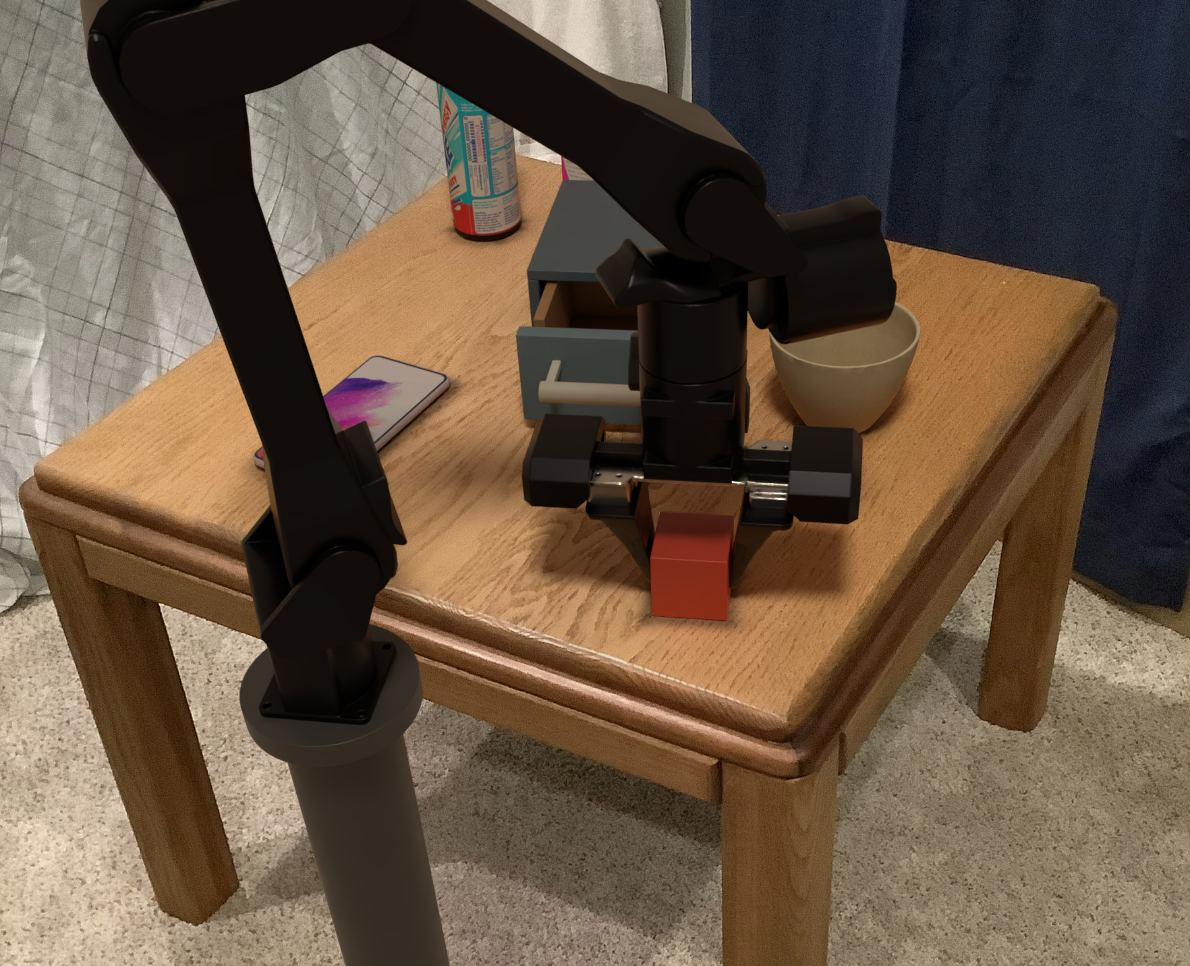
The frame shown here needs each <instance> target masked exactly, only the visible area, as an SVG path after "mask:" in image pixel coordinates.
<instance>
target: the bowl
mask: <svg viewBox="0 0 1190 966" xmlns="http://www.w3.org/2000/svg"><path fill="white" fill-rule="evenodd" d="M920 325H921V324H920V322H919V320H918V319H917V317H916V316H915V314H914V313H913V312H911V311H910V310H909V308H907V307H905V306H904V305H903V304H901V303H899V302H897V301H895V306H894V309H893V312H892V314H891V316H890V317H889V319H888V320H887V321H886V322H884V323H883V324H880V325H875V326H870V327H865V328H861V329H856V330H851V331H847V332H842V333H837V334H833V335H828V336H823V337H819V338H814V339H809V340H805V341H800V342H795V343H791V344H780V343H779V342H778V341H776V340H775V339H774V337H773V336H772V335H771V333H770V331H769V330H768V335H769V336H768V337H769V343H770V349H771V355H772V359H773V363H774V366H775V371H776V373H777V375H778V378H779V381H780V383H781V386H782V388H783V390H784V393H785V394H786V396H787V398H788V400H789V402H790V404H791V406H792V407H793V409H794V410H795V412H796V413H797V415H798V416H799V418H800V419H801V420H802V422H803V423H804V424H805V426H819V427H840V428H854V429H855V430H856V431H857V433H858V434H861V433H862V432H865V431H867V430H868V429H870V428H871V427H872V426H873V425H874V424H875V423H876V421H877V420H878V419H880V417H882V415H883V414H884V412H885V411H886V410H887V408H888V407H889V406H890V404H891V403H892V402H893V400H894V399H895V397H896V395H897V394H898V392H899V391H900V389H901V387H902V385H903V383H904V381H905V379H906V377H907V375H908V373H909V371H910V368H911V366H912V364H913V361H914V358H915V355H916V352H917V348H918V345H919V341H920V337H921V326H920Z"/></svg>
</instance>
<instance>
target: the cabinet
mask: <svg viewBox="0 0 1190 966" xmlns="http://www.w3.org/2000/svg"><path fill="white" fill-rule="evenodd" d="M627 238H630V239H632V240H633V241H634V242H635V243H636V244H637V245H638V246H640V247H642V248H655V247H660V246H663V245H662V244H661V243H660V242H659V241H658V240H657V239H656V238H654V237H653V236H652V235H651V234H650V233H649V232H648V231H647V230H645V229H644V228H643V227H642V226H641V225H640V224H639V223H638V222H636V221H635V220H634V219H633V218H632V217H631V216H630V215H629V214H628V213H627V212H626V211H625V210H624V209H623V208H622V207H621V206H620V205H619V204H618V203H617V202H616V201H615V200H614V199H613V198H612V197H611V196H610V195H609V194H608V193H607V192H605V191H604V190H603V189H602V188H601V187H600V186H599V185H598V184H597V183H596V182H595V181H592V180H562V179H561V183H560V186H559V188H558V190H557V193H556V196H555V198H554V200H553V203H552V206H551V208H550V209H549V213H548V215H547V218H546V221H545V223H544V226H543V229H542V231H541V233H540V235H539V239H538V241H537V243H536V245H535V248H534V251H533V253H532V256H531V259H530V261H529V264H528V267H527V268H526V277H527V278H526V279H527V290H528V300H529V311H530V312H529V313H530V322H531V323H530V324H531V327H534V322H533V319H534V316H535V313H536V311H537V308H538V305H539V303H540V300H541V297H542V295H543V292H544V289H545V286H546V284H547V281H548V280H549V281H580V282H599V280H598V279H597V277H596V275H595V271H596V268H597V267H598V266H599V265H601V264H602V263H603V262H604V261H605V260H606V259H607V258H608V257H609V256H611V255H612V254H614V253H615V252H616V251H617V250H618V249H619V248H620V247H621V245H622V243H623V241H624V240H625V239H627Z"/></svg>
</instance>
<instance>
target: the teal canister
mask: <svg viewBox="0 0 1190 966" xmlns="http://www.w3.org/2000/svg"><path fill="white" fill-rule="evenodd" d="M435 87H436V93H437V94H436V95H437V101H438V111H439V118H440V119H439V120H440V128H441V137H442V144H443V151H444V159H445V167H446V174H447V184H448V191H449V199H450V207H451V216H452V223H453V226H454V228H455V230H456V232H458V234H459V235H461V236H462V237H464V238H466V239H469V240H473V241H483V242H484V241H494V240H495V241H496V240H499V239H502V238H505V237H506V238H507V237H508V236H510V235H511V234H513V233H515V232H516V231H517V230H518V228H519V226H520V223H521V219H522V212H521V204H520V203H521V201H520V191H519V189H520V188H519V179H518V178H519V177H518V167H517V155H516V154H517V153H516V143H515V133H514V132H515V131H514V130H515V129H514V128H513V127H511V126H509V125H508V124H506V123H504V122H502V121H501V120H499V119H497V118H496V117H494V116H492V115H491V114H489V113H487V112H486V111H484V110H482V109H480V108H479V107H477V106H475V105H474V104H472V103H470V102H469V101H467V100H465V99H463V98H462V97H460V96H458V95H457V94H455V93H453V92H452V91H450V90H448V89H446V88H445V87H443V86H441V85H440V84H438V83H436V82H435Z"/></svg>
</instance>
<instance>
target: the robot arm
mask: <svg viewBox="0 0 1190 966" xmlns="http://www.w3.org/2000/svg"><path fill="white" fill-rule="evenodd" d="M79 7H80V13H81V22H82V28H83V35H84V36H83V37H84V44H85V51H86V58H87V62H88V69H89V75H90V77H91V80H92V82H93V85H94V86H95V88H96V90H97V92H98V94H99V96H100V98H101V99H102V101H103V102H104V104H105V106H106V108H107V109H108V111H109V112H110V114H111V116H112V117H113V119H114V121H115V122H116V124H117V126H118V128H119V129H120V131H121V133H122V134H123V136H124V138H125V139H126V142H127V143H128V144H129V146H130V148H131V149H132V151H133V153H134V154H135V156H136V157H137V159H138V160H139V162H140V163H141V164H142V166H143V168H144V169H145V170H146V171H147V173H148V174H149V175H150V177H151V178H152V179H153V181H154V182H155V184H157V186H158V188H159V189H160V190H161V192H162V193H163V194H164V196H165V197H166V199H167V201H168V202H169V204H170V205H171V207H172V209H173V211H174V212H175V215H176V218H177V221H178V223H179V226H180V228H181V231H182V234H183V237H184V239H185V241H186V244H187V247H188V250H189V253H190V255H191V258H192V261H193V263H194V266H195V269H196V271H197V274H198V278H199V280H200V282H201V285H202V287H203V290H204V292H205V295H206V298H207V300H208V303H209V306H210V308H211V312H212V314H213V317H214V320H215V322H216V324H217V328H218V330H219V332H220V335H221V338H222V341H223V344H224V346H225V349H226V352H227V355H228V357H229V360H230V362H231V365H232V367H233V370H234V372H235V375H236V378H237V381H238V384H239V385H240V389H241V392H242V394H243V397H244V399H245V402H246V404H247V408H248V410H249V413H250V416H251V418H252V421H253V423H254V426H255V429H256V432H257V434H258V437H259V439H260V443H261V446H262V449H263V460H264V467H265V468H264V473H265V480H266V486H267V487H266V488H267V492H268V500H269V506H268V507H267V508H266V510H265V511H264V512H263V513H262V514H261V515H260V517H259V518H258V519H257V521H256V522H255V523H254V524H253V526H252V527H251V528H250V529H249V531H248V532H247V533H246V535H245V536H244V537H243V538H242V540H241V542H240V546H241V551H242V554H243V559H244V565H245V569H246V574H247V578H248V582H249V588H250V592H251V597H252V602H253V607H254V612H255V617H256V621H257V627H258V631H259V635H260V640H262V642H263V643H264V644H265V645H266V649H268V652H269V656H270V660H271V663H272V667H273V670H274V674H273V676H272V679H271V681H270V683H269V685H268V687H267V689H266V692H265V694H264V696H263V698H262V700H261V702H260V704H259V711H260V714H261V716H263V717H266V718H278V719H290V720H303V721H315V722H327V723H339V724H351V725H365V724H367V723H368V722H370V720H371V718H372V715H373V713H374V710H375V707H376V705H377V702H378V699H379V697H380V694H381V692H382V689H383V686H384V684H385V681H386V678H387V676H388V673H389V671H390V668H391V665H392V663H393V660H394V657H395V655H396V646H395V644H394V643H393V642H388V641H374V640H372V638H371V633H370V628H369V624H370V623H371V618H372V614H373V609H374V606H375V601H376V599H377V595H378V594H379V593H381V592H382V591H383V590H384V589H385V588H386V586H387V585H388V584H389V582H390V581H391V579H393V578H395V577H396V575H397V573H398V566H399V561H398V552H397V549H396V547H395V545H397V546H406V545H408V540H407V539H408V538H407V536H406V533H405V530H404V528H403V525H402V522H401V519H400V517H399V514H398V511H397V508H396V505H395V502H394V499H393V497H392V494H391V490H390V485H389V481H388V478H387V475H386V471H385V470H384V467H383V463H382V461H381V458H380V455H379V453H378V451H377V450H376V447H375V444H374V441H373V438H372V435H371V433H370V430H369V427H368V424H367V421H362V422H360V423H358V424H356V425H354V426H351V427H349V428H347V429H345V430H342V428H341V427H340V425H339V424H338V423H337V421H336V420H335V419H334V417H333V416H332V414H331V413H330V411H329V409H328V407H327V405H326V403H325V400H324V397H323V396H324V394H323V391H322V388H321V385H320V381H319V379H318V376H317V373H316V369H315V367H314V364H313V360H312V358H311V355H310V354H311V353H310V352H309V348H308V346H307V342H306V339H305V335H304V334H303V330H302V327H301V324H300V321H299V318H298V314H297V311H296V308H295V306H294V303H293V300H292V297H291V293H290V291H289V288H288V284H287V281H286V278H285V275H284V272H283V269H282V266H281V262H280V261H279V257H278V253H277V251H276V248H275V245H274V241H273V238H272V235H271V233H270V230H269V227H268V223H267V220H266V217H265V215H264V214H265V213H264V211H263V209H262V205H261V203H260V199H259V196H258V193H257V190H256V186H255V179H254V170H253V157H252V144H251V132H250V131H251V130H250V123H249V116H248V107H247V100H246V96H248V95H251V94H255V93H257V92H262V91H264V90H265V91H266V90H268V89H271V88H275V87H277V86H279V85H282V84H284V83H285V82H287V81H289V80H291V79H293V78H295V77H297V76H298V75H300V74H302V73H304V72H306V71H308V70H310V69H311V68H313V67H315V66H316V65H319V64H321V63H322V62H325V61H326V60H328V59H330V58H332V57H333V56H336V55H337V54H339V53H340V52H344V51H347V50H350V49H355V48H358V47H361V46H364V45H368V44H369V45H371V46H373V47H375V48H377V49H378V50H380V51H382V52H383V53H385V54H387V55H388V56H391V57H392V58H394V59H395V60H397V61H399V62H400V63H403V64H404V65H406V66H408V67H409V68H410V69H412V70H414V71H416V72H417V73H419V74H421V75H422V76H424V77H426V78H428V79H430V80H431V81H432V82H435V84H436V83H438V84H440V85H441V86H443V87H445V88H446V89H448V90H450V91H452V92H453V93H455V94H457V95H458V96H460V97H462V98H463V99H465V100H467V101H469V102H470V103H472V104H474V105H475V106H477V107H479V108H480V109H482V110H484V111H486V112H487V113H489V114H491V115H492V116H494V117H496V118H497V119H499V120H501V121H502V122H504V123H506V124H508V125H509V126H511V127H513V130H516V131H518V132H519V133H521V134H522V135H525V136H526V137H528V138H529V139H532V140H533V141H534V142H536V143H538V144H540V145H542V146H543V147H545V148H546V149H549V150H550V151H552V152H554V153H555V154H557V155H559V156H560V157H561V156H562V157H564V158H565V159H567V160H569V161H570V162H572V163H574V164H576V165H577V166H578V167H580V168H581V169H582V170H583V171H584V172H585V173H586V174H587V175H589V176H590V177H591V178H592V179H593V180H594V181H595V182H596V183H597V184H598V185H599V186H600V187H601V188H602V189H603V190H604V191H605V192H607V193H608V194H609V195H610V196H611V197H612V198H613V199H614V200H615V201H616V202H617V203H618V204H619V205H620V206H621V207H622V208H623V209H624V210H625V211H626V212H627V213H628V214H629V215H630V216H631V217H632V218H633V219H634V220H635V221H636V222H638V223H639V224H640V225H641V226H642V227H643V228H644V229H645V230H647V231H648V232H649V233H650V234H651V235H652V236H653V237H654V238H656V239H657V240H658V241H659V242H660V243H661V244H662V245H663V246H660V247H655V248H642V247H640V246H638V245H637V244H636V243H635V242H634V241H633V240H632V239H630V238H627V239H625V240H624V241H623V243H622V245H621V247H620V248H619V249H618V250H617V251H616V252H615V253H614V254H612V255H611V256H609V257H608V258H607V259H606V260H605V261H604V262H603V263H602V264H601V265H599V266H598V267H597V268H596V271H595V275H596V277H597V279H598V280H599V282H600V283H601V285H602V286H603V288H604V289H605V291H606V292H607V294H608V295H609V297H610V298H611V300H612V301H613V303H614V304H615V306H616V307H618V308H626V307H631V306H636V305H637V314H638V332H633V334H632V335H631V337H630V349H629V362H628V387H629V389H630V390H631V391H640V409H641V425H640V434H641V441H640V442H622V441H621V442H620V441H618V442H617V441H606V438H607V428H606V424H605V420H604V418H603V417H602V416H586V415H565V414H544V415H543V416H542V418H541V419H540V420H537V421H536V423H535V424H534V427H533V430H532V433H531V437H530V440H529V442H528V445H527V448H526V451H525V455H524V458H523V460H522V466H521V467H522V468H521V484H522V492H523V493H522V495H523V501H524V502H526V503H527V504H528V505H529V506H531V507H533V508H534V507H535V508H536V507H537V508H549V509H550V508H553V509H554V508H555V509H571V510H577V509H579V508H580V507H581V506H582V505H584V503H585V506H584V513H585V517H586V518H587V519H589V520H592V521H599V522H602V523H603V524H604V525H605V526H606V528H607V529H608V530H609V531H610V532H611V534H613V535H614V537H616V539H617V540H618V541H619V542H620V543H621V544H622V545H623V547H624V548H625V549H626V550H627V552H628V553H629V555H630V557H631V558H632V559H633V561H634V562H635V564H636V565H637V567H638V568H639V570H640V571H641V573H642V575H643V576H644V578H645V579H646V580H647V581H648V583H649V584H651V570H650V556H651V551H652V546H653V542H654V537H655V532H656V529H655V524H654V517H653V509H652V503H651V496H650V483H656V484H657V483H659V484H677V485H693V486H694V485H695V486H696V485H697V486H713V487H714V486H715V487H717V486H718V487H732V488H733V487H734V488H743V491H742V498H741V503H740V508H739V512H738V518H737V524H736V528H735V532H734V544H733V549H732V555H731V563H730V570H729V586H730V588H731V589H737V587H738V585H739V583H740V581H741V579H742V578H743V576H744V574H745V572H746V571H747V568H748V567H749V565H750V563H751V562H752V560H753V558H754V556H755V555H756V553H757V552H758V551H759V550H760V549H761V548H762V547H763V545H764V544H765V543H766V542H767V540H768V539H769V538H770V537H771V536H772V535H773V533H775V532H787V531H789V530H791V529H792V528H793V526H794V520H795V519H796V520H798V521H799V522H800V523H811V524H812V523H815V524H830V525H831V524H832V525H845V526H846V525H847V526H849V524H851V523H853V522H856V521H857V520H859V514H860V505H861V495H862V494H861V493H862V478H863V454H864V453H863V449H864V438H863V437H862V436H861V435H860V433H857V431H856V430H855V429H854V428H840V427H819V426H807V425H795V424H793V428H792V429H793V431H792V440H791V441H788V440H787V441H786V440H769V439H768V440H767V439H765V440H764V439H763V440H757V441H756V442H754V443H752V445H745V440H746V439H745V435H746V434H748V433H749V426H750V413H751V412H750V411H751V407H750V406H751V386H750V383H749V380H748V378H747V372H748V370H747V369H748V353H749V352H748V351H749V350H748V315H749V317H750V319H751V321H752V323H753V324H754V326H755V327H756V328H757V329H758V330H761V331H764V330H768V332H769V331H770V333H771V335H772V336H773V337H774V339H775V340H776V341H778V342H779V343H780V344H791V343H795V342H800V341H805V340H809V339H814V338H819V337H823V336H828V335H833V334H837V333H842V332H847V331H851V330H856V329H861V328H865V327H870V326H875V325H880V324H883V323H884V322H886V321H887V320H888V319H889V317H890V316H891V314H892V312H893V309H894V306H895V302H896V299H897V292H898V289H897V288H898V284H897V281H896V280H895V278H894V272H893V265H892V260H891V254H890V251H889V248H888V245H887V242H886V239H885V237H884V234H883V233H882V231H881V230H882V219H883V212H882V210H880V209H879V208H878V207H877V206H875V205H874V203H873V202H872V201H870V200H869V199H868V198H867V197H866V196H865V195H858V196H853V197H847V198H844V199H843V198H842V199H841V200H838V201H836V202H834V203H831V204H829V205H824V206H820V207H814V208H810V209H804V210H799V211H793V212H788V213H785V214H779V215H778V214H777V213H776V212H775V210H774V209H772V208H771V206H770V205H768V203H767V202H766V201H767V197H768V194H767V179H768V178H767V174H766V172H765V171H764V169H763V166H762V165H761V164H760V163H759V162H758V161H757V160H756V159H755V158H754V157H753V156H752V154H750V153H749V151H747V150H746V149H745V148H744V146H743V145H741V144H740V143H739V142H738V141H737V139H735V137H734V136H733V135H732V134H731V133H730V132H729V131H728V130H727V129H726V128H725V127H724V126H723V125H722V124H721V123H720V122H719V121H718V120H717V119H716V118H715V117H714V115H712V114H711V113H710V111H708V110H707V109H706V108H704V107H702V106H700V105H698V104H697V103H696V104H695V103H693V102H690V101H689V100H686V99H684V98H680V97H678V96H675V95H674V94H671V93H668V92H665V91H663V90H660V89H658V88H656V87H652V86H650V85H647V84H641V83H638V82H637V83H636V82H632V81H626V80H621V79H618V78H616V77H614V76H611V75H608V74H606V73H603V72H601V71H598V70H596V69H595V68H593V67H592V66H590V65H589V64H587V63H586V62H584V61H583V60H581V59H579V58H577V56H574V54H571V53H570V52H568V51H567V50H565V49H564V48H563V47H560V46H559V45H557V44H556V43H554V42H553V41H551V40H550V39H548V38H546V37H545V36H544V35H542V34H540V33H538V32H537V31H536V30H534V29H533V28H531V27H529V26H528V25H526V24H525V23H523V22H522V21H520V20H519V19H517V18H516V17H514V16H512V15H511V14H510V13H508V12H506V11H504V10H503V9H502V8H500V7H498V6H497V5H495V4H493V3H492V2H491V1H489V0H79ZM387 649H389V650H387ZM267 708H270V709H267ZM360 716H363V717H360Z"/></svg>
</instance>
